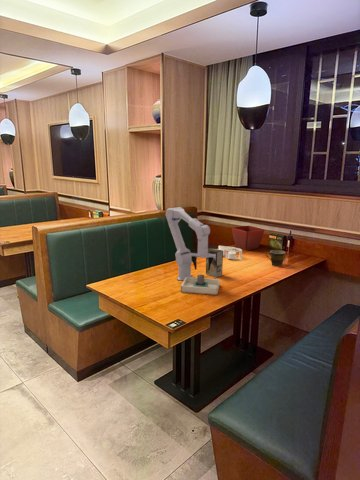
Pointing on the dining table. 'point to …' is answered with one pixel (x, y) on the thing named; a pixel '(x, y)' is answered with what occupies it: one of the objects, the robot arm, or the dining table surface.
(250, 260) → the dining table surface
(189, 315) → the dining table surface
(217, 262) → the coffee box
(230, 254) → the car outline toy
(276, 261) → the ceramic cup
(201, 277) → the cylinder
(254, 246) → the plant pot
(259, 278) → the dining table surface
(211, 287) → the walled box
